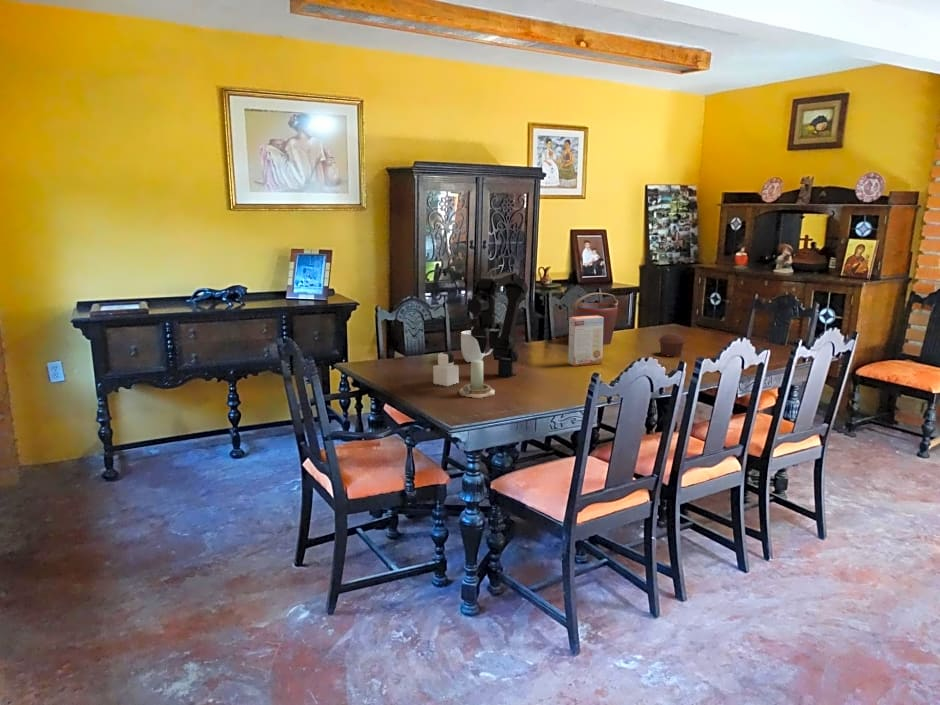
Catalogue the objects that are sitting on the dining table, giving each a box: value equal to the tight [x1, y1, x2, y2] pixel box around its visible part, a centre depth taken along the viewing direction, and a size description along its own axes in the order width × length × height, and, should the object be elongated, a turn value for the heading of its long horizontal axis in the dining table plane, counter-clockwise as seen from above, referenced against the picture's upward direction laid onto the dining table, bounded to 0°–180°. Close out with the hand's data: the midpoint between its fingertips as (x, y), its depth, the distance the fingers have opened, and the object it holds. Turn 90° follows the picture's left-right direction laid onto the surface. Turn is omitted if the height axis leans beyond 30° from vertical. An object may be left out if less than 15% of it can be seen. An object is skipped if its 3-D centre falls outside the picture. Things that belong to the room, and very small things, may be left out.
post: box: [470, 359, 484, 390], centre depth 250 cm, size 5×5×11 cm
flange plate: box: [458, 383, 496, 399], centre depth 251 cm, size 13×13×4 cm
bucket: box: [572, 292, 619, 346], centre depth 343 cm, size 24×22×25 cm
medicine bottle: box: [432, 351, 460, 387], centre depth 264 cm, size 7×7×12 cm
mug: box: [460, 329, 493, 363], centre depth 302 cm, size 15×11×13 cm
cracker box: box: [567, 315, 604, 367], centre depth 296 cm, size 14×6×21 cm, turn 109°
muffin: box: [658, 332, 686, 357], centre depth 316 cm, size 12×11×10 cm
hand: (487, 351), depth 262 cm, fingers open, 9 cm apart
